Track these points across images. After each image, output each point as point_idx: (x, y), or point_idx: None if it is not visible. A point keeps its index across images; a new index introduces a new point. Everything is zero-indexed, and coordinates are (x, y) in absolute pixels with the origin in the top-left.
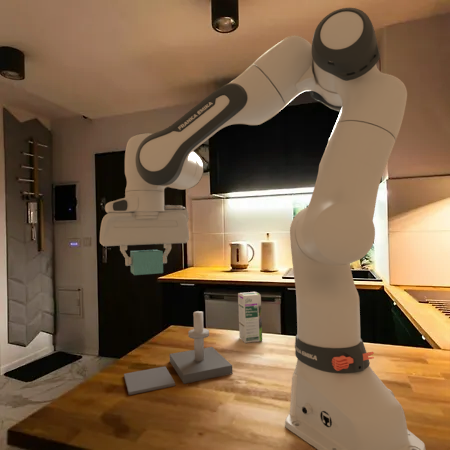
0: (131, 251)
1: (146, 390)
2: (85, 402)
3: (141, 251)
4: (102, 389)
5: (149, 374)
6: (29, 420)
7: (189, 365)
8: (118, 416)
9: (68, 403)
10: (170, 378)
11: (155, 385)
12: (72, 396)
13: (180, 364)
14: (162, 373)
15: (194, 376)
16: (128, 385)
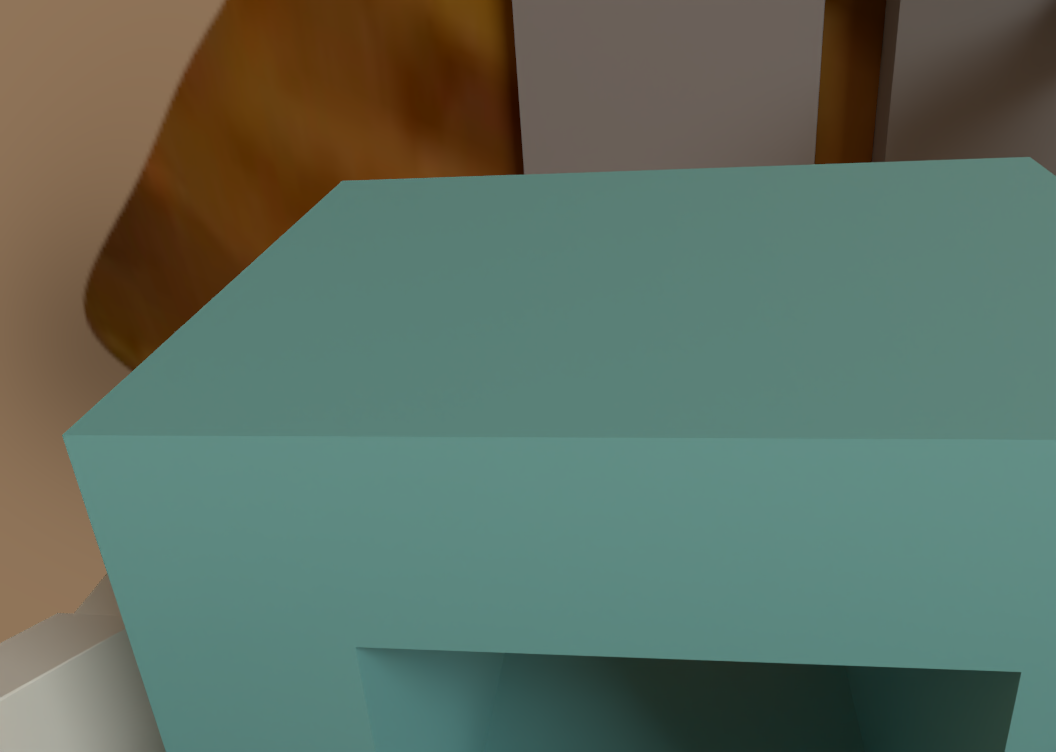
0: (161, 737)
1: None
2: (307, 205)
3: (529, 630)
4: (379, 79)
5: (681, 14)
6: (92, 273)
7: (981, 89)
8: None
9: (222, 179)
10: (802, 142)
11: None
12: (222, 103)
13: (925, 41)
14: (772, 38)
15: None
16: (529, 135)
